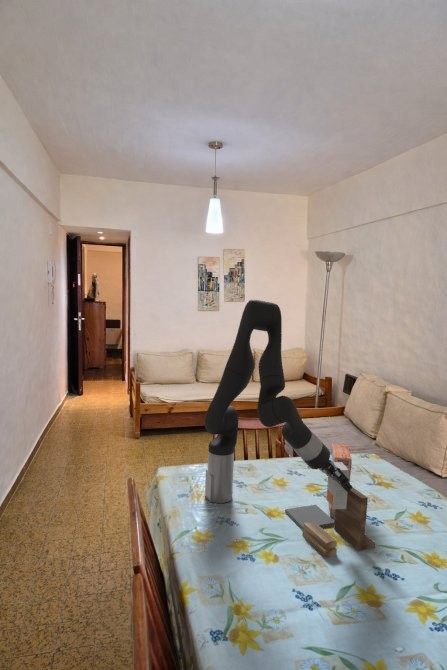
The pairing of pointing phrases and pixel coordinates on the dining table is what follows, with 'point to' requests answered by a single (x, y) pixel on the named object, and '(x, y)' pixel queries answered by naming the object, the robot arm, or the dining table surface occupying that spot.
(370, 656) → the dining table surface
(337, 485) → the skincare box
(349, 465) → the cracker box
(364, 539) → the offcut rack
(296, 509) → the slate pad
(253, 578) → the dining table surface
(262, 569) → the dining table surface
